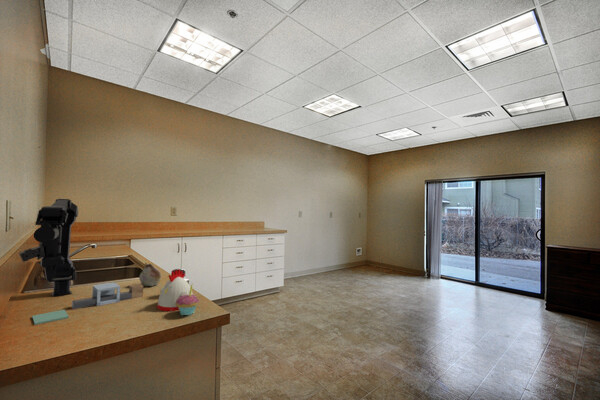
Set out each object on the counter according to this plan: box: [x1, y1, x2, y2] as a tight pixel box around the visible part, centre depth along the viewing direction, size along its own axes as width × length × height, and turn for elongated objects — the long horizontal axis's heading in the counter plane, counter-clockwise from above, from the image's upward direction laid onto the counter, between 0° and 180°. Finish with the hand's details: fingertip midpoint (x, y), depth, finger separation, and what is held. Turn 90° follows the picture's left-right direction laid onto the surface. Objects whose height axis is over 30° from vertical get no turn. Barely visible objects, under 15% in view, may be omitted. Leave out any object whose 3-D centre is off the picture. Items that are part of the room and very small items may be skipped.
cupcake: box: [175, 283, 200, 316], centre depth 109 cm, size 9×8×12 cm
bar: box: [71, 290, 132, 310], centre depth 118 cm, size 3×20×3 cm, turn 135°
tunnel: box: [91, 282, 121, 307], centre depth 119 cm, size 8×8×7 cm
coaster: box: [31, 309, 70, 326], centre depth 101 cm, size 9×9×1 cm
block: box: [128, 283, 144, 300], centre depth 127 cm, size 4×4×5 cm
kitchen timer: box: [156, 268, 194, 312], centre depth 118 cm, size 14×14×15 cm
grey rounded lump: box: [138, 262, 162, 287], centre depth 145 cm, size 10×9×12 cm
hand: (48, 280), depth 106 cm, fingers closed
